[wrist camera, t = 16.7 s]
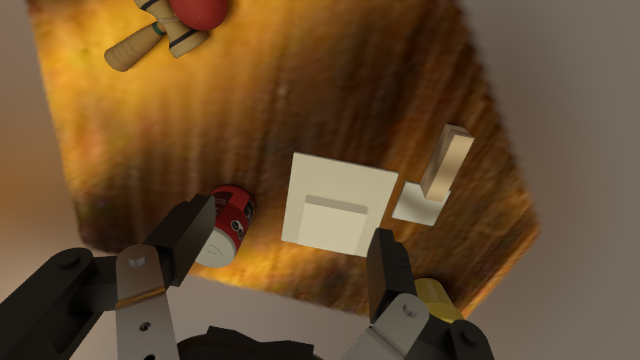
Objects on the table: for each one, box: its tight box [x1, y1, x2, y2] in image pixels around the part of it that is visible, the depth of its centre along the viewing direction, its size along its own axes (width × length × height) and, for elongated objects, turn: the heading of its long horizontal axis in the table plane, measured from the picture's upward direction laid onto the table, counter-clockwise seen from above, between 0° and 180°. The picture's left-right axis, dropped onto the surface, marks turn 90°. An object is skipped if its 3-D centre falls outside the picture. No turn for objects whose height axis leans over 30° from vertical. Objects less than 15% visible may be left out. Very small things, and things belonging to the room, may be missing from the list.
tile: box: [297, 195, 367, 255], centre depth 48 cm, size 2×10×9 cm
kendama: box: [104, 0, 228, 72], centre depth 34 cm, size 8×6×18 cm
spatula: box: [391, 124, 474, 226], centre depth 42 cm, size 17×7×4 cm, turn 169°
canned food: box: [195, 185, 255, 268], centre depth 44 cm, size 8×8×11 cm
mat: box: [281, 151, 399, 257], centre depth 48 cm, size 18×16×1 cm
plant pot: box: [414, 278, 464, 324], centre depth 52 cm, size 10×10×10 cm
